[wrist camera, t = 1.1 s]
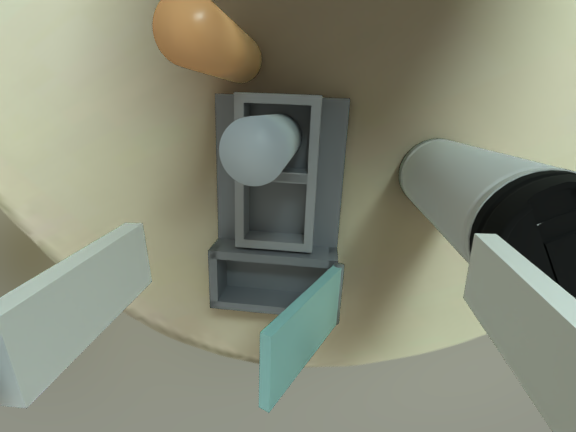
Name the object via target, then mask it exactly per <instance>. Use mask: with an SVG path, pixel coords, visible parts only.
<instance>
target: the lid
mask: <svg viewBox="0 0 576 432" xmlns="http://www.w3.org/2000/svg"><path fill="white" fill-rule="evenodd" d="M343 275H344V264H342V263H334V264H333V266H332V267H331V268H330V269H329V270H328V271H326V272H325V273H324V274H323V275H322V276H321V277H320V278H319V279H318V280H317V281H316V282H314V283H313V284H312V285H311V286H310V287H309V288H308V289H307V290H306V291H305V292H304V293H302V294H301V295H300V296H299V297H298V298H297V299H296V300H295V301H294V302H293V303H292V304H290V305H289V306H288V307H287V308H286V309H285V310H284V311H283V312H282V313H281V314H280V315H279V316H277V317H276V318H275V319H274V320H273V321H272V322H271V323H270V324H269V325H268V326H267V327H265V328H264V329H263V330H262V331H261V332H260V365H259V366H260V368H259V407H260V408H261V409H263V410H265V411H267V412H268V413H269V412H270V411H271V410H272V408H273V407H274V406H275V404H276V403H277V402H278V400H279V399H280V397H281V396H282V395H283V394H284V392H285V391H286V390H287V388H288V387H289V386H290V385H291V383H292V382H293V381H294V379H295V378H296V377H297V375H298V374H299V373H300V371H301V370H302V369H303V368H304V366H305V365H306V364H307V362H308V361H309V360H310V358H311V357H312V356H313V355H314V353H315V352H316V351H317V349H318V348H319V347H320V345H321V344H322V343H323V341H324V340H325V339H326V337H327V336H328V335H329V334H330V332H331V331H332V330H333V328H334V327H335V326H336V325H337V324H338V323H339V316H340V306H341V296H342V285H343Z"/></svg>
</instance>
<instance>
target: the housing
mask: <svg viewBox="0 0 576 432" xmlns="http://www.w3.org/2000/svg"><path fill="white" fill-rule="evenodd" d="M349 107H350V99H346V98H322V95H302V94H275V93H248V92H234V94H215V115H216V156H217V197H218V240H217V241H216V242H215V243H214V244H213V245H212V247H211V248H210V249H209V250H208V263H209V292H210V308H217V309H227V310H237V311H247V312H258V313H268V314H278V315H280V314H281V313H282V312H283V311H284V310H285V309H286V308H287V307H288V306H289V305H290V304H292V303H293V302H294V301H295V300H296V299H297V298H298V297H299V296H300V295H301V294H302V293H304V292H305V291H306V290H307V289H308V288H309V287H310V286H311V285H312V284H313V283H314V282H316V281H317V280H318V279H319V278H320V277H321V276H322V275H323V274H324V273H325V272H326V271H328V270H329V269H330V268H331V267H332V266H333V264H334V263H338V254H337V243H338V231H339V220H340V209H341V198H342V186H343V175H344V164H345V152H346V141H347V130H348V118H349ZM271 114H285V115H288V116H290V117H292V118H293V119H294V120H295V121H296V122H297V123H298V124H299V126H300V128H301V132H302V141H301V145H300V147H299V149H298V150H297V152H296V153H295V154H294V156H293V157H292V158H291V160H290V161H289V162H288V164H287V165H286V166H285V168H284V169H283V170H282V172H281V173H280V175H279V176H278V177H277V178H276V179H274V180H273V181H271V182H270V183H268V184H265V185H262V186H247V185H244V184H241V183H239V182H237V181H236V180H234V179H233V178H232V177H231V176H230V175H229V174H228V173H227V172H226V171H225V169H224V167H223V165H222V163H221V160H220V156H219V144H220V140H221V137H222V135H223V133H224V131H225V129H226V128H227V127H228V126H229V125H230V124H231V123H232V122H234V121H235V120H237V119H240V118H243V117H248V116H259V115H271Z"/></svg>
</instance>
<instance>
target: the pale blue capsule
mask: <svg viewBox="0 0 576 432" xmlns="http://www.w3.org/2000/svg"><path fill="white" fill-rule="evenodd" d="M301 141H302V132H301V128H300V126H299V124H298V123H297V122H296V121H295V120H294V119H293V118H292V117H290V116H288V115H285V114H271V115H259V116H248V117H243V118H240V119H237V120H235V121H234V122H232V123H231V124H230V125H229V126H228V127H227V128H226V129H225V131H224V133H223V135H222V137H221V140H220V144H219V156H220V160H221V163H222V165H223V167H224V169H225V171H226V172H227V173H228V174H229V175H230V176H231V177H232V178H233V179H234V180H236V181H237V182H239V183H241V184H244V185H247V186H262V185H265V184H268V183H270V182H271V181H273V180H274V179H276V178H277V177H278V176H279V175H280V173H281V172H282V170H283V169H284V168H285V166H286V165H287V164H288V162H289V161H290V160H291V158H292V157H293V156H294V154H295V153H296V152H297V150H298V149H299V147H300V145H301Z"/></svg>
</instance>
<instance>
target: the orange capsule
mask: <svg viewBox="0 0 576 432" xmlns="http://www.w3.org/2000/svg"><path fill="white" fill-rule="evenodd" d="M153 34H154V38H155V41H156V44H157V46H158V48H159V50H160V51H161V53H162V54H163V55H164V56H165V57H166V58H167V59H168V60H169V61H171V62H172V63H174V64H175V65H178V66H180V67H184V68H187V69H191V70H194V71H197V72H201V73H204V74H208V75H211V76H214V77H218V78H221V79H225V80H228V81H231V82H235V83H246V82H248V81H250V80H252V79H253V78H254V77H255V76H256V75H257V74H258V72H259V70H260V67H261V61H262V58H261V52H260V49H259V47H258V45H257V44H256V42H255V41H254V40H253V39H252V38H250V37H249V36H248V35H247V34H246V33H245V32H244V31H243V30H242V29H241V28H240V27H239V26H238V25H237V24H236V23H234V22H233V21H232V20H231V19H230V18H229V17H228V16H227V15H226V14H225V13H224V12H223V11H222V10H221V9H220V8H218V7H217V6H216V5H215V4H214V3H213V2H212V1H211V0H160V2H159V3H158V5H157V7H156V9H155V12H154V16H153Z"/></svg>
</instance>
